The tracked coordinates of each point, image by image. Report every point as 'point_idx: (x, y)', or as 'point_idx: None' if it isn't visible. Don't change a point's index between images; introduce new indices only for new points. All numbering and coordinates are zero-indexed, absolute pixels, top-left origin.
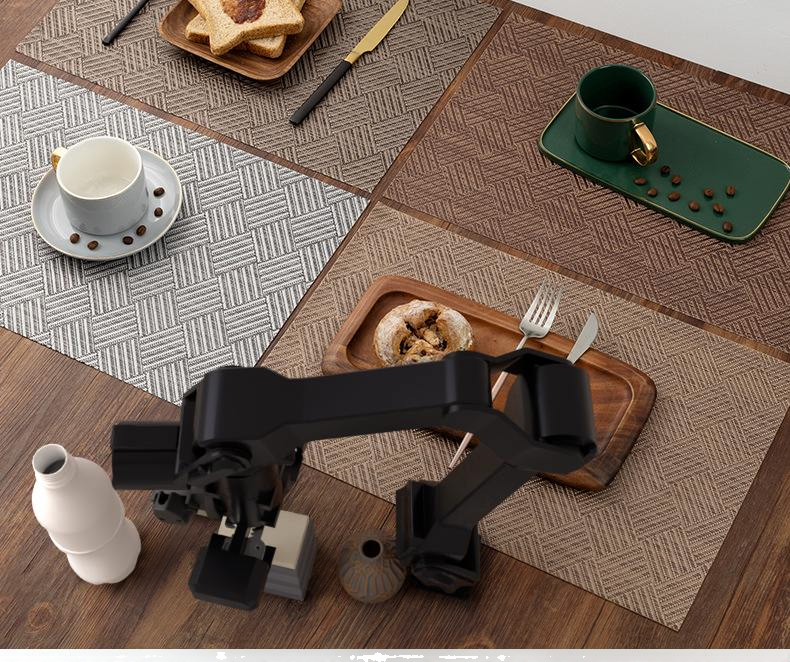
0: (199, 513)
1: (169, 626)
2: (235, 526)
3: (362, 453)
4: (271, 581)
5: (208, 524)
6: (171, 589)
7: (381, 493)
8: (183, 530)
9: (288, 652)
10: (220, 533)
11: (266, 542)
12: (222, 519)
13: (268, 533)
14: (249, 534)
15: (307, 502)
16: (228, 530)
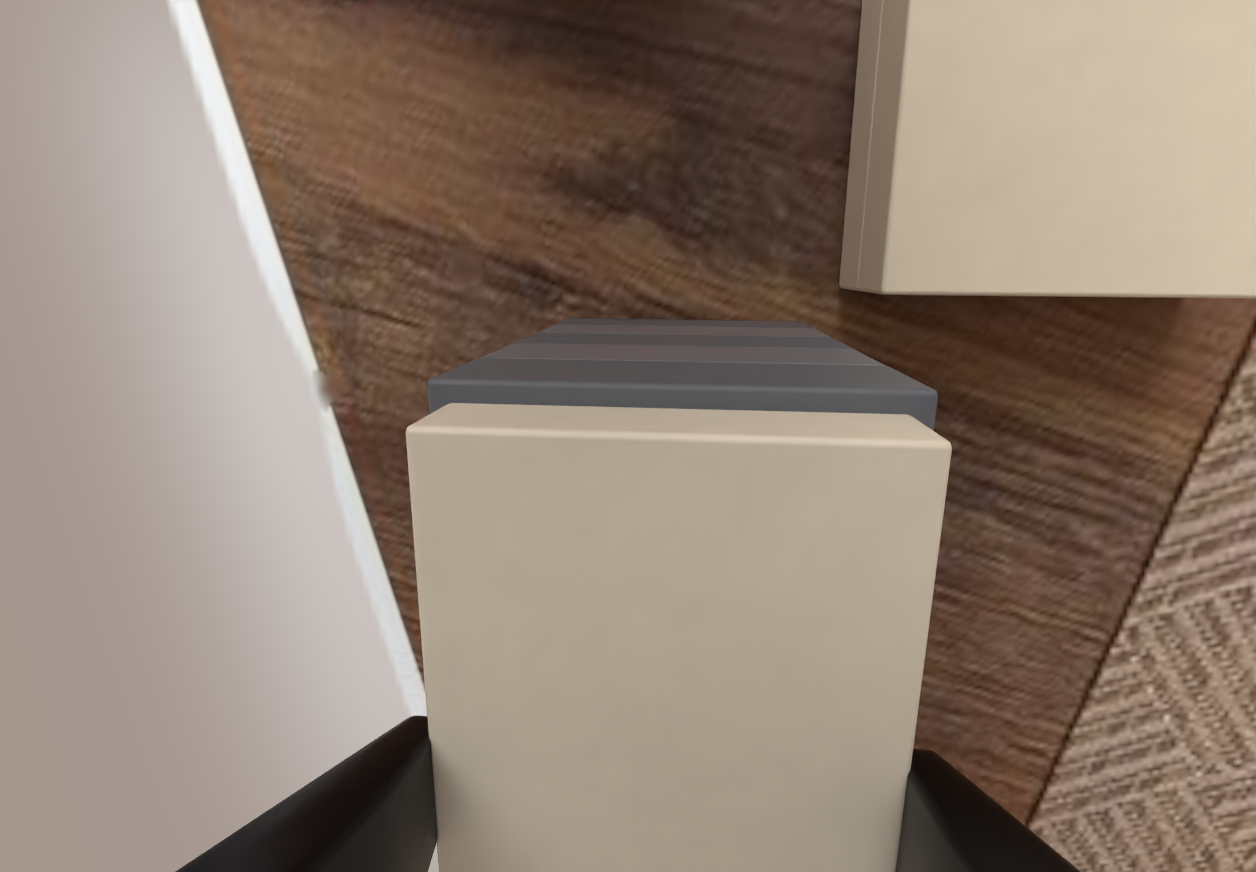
0: (857, 99)
1: (334, 146)
2: (652, 580)
3: (1231, 737)
4: None
5: (812, 163)
6: (481, 95)
7: (1048, 825)
8: (762, 46)
9: (389, 623)
10: (546, 458)
11: (570, 860)
12: (845, 226)
13: (652, 861)
14: (607, 713)
15: (978, 569)
16: (597, 524)
